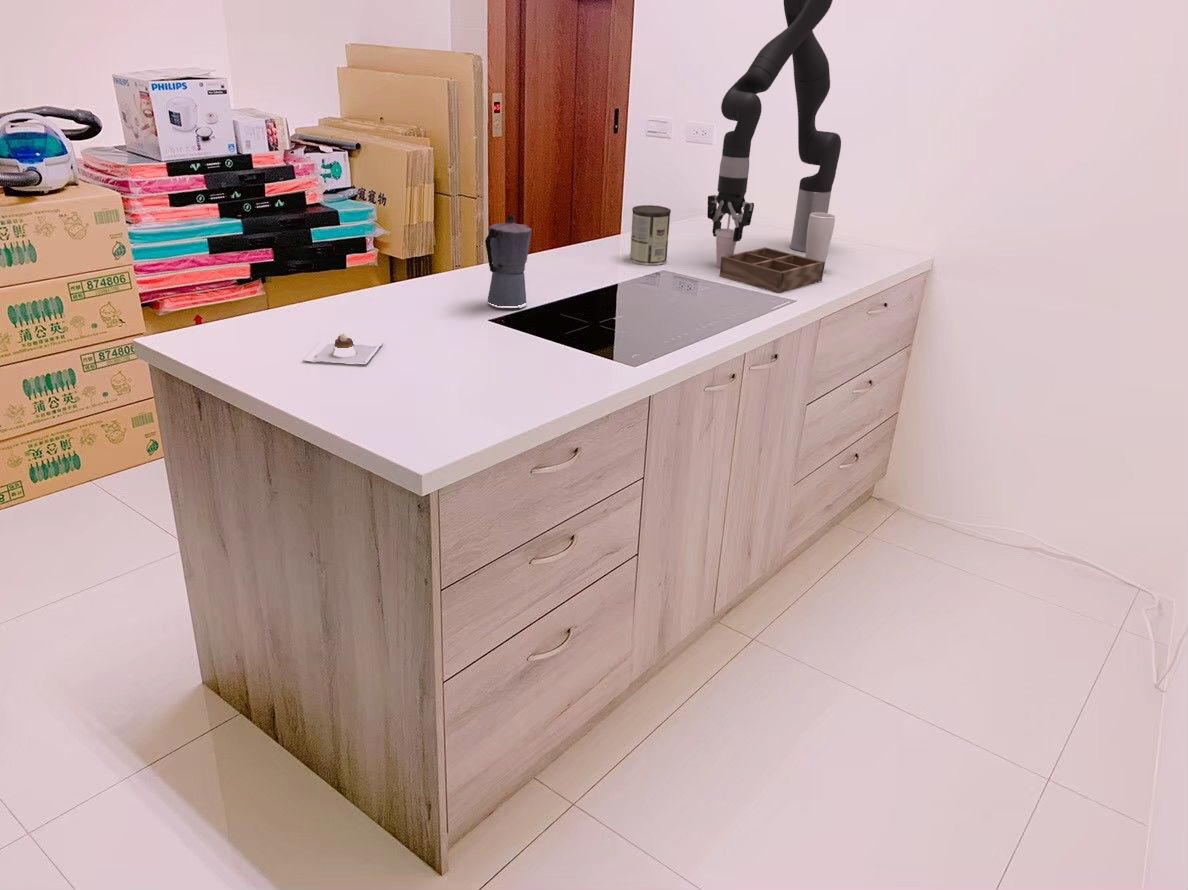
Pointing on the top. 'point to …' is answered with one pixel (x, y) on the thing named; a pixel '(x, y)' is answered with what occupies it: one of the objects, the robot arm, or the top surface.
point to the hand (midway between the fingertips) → (726, 238)
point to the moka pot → (507, 262)
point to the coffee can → (649, 234)
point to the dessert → (343, 342)
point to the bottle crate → (771, 269)
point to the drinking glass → (819, 235)
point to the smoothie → (724, 242)
